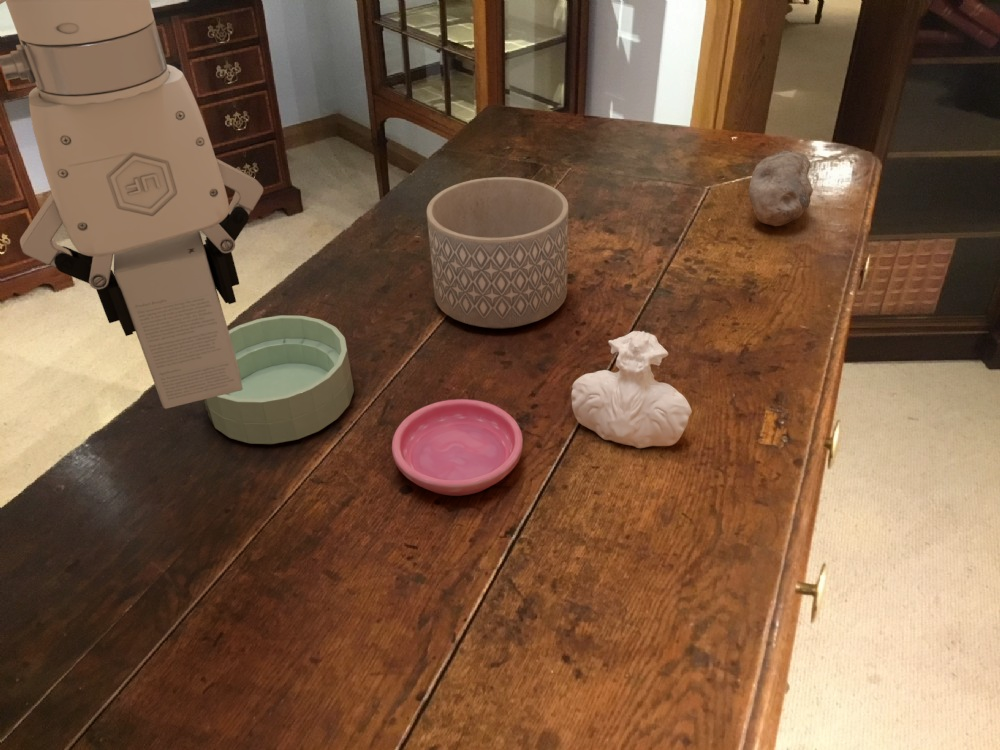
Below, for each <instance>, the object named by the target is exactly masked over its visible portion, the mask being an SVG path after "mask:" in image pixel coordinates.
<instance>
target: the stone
mask: <svg viewBox="0 0 1000 750" xmlns="http://www.w3.org/2000/svg"><path fill="white" fill-rule="evenodd" d="M810 168H811V161H810V159H809V158H808V156H807V155H806V154H805V153H802V152H799V151H791V150H781V151H779V152H776V153H774V154H772V155H769V156H766V157H765V158H762V159H761V161H759V163H757V164H756V166H755V168H754V170H753V171H752V174H751V178H750V180H749V187H748V192H747V193H748V198H749V201H750V205H751V207H752V211H753V213H754V215H755V218H756V219H757V220H758V221H759V222H760V223H762V224H765V225H769V226H773V227H781V226H784V225H787V224H789V223H790V222H792V221H795V220H798V219H799V218H800V217H801V216H802V215H803V213H805V211H806V210H807V209H808V207H809V206H810V204H811V197H812V195H813V192H814V189H813V186H812V184H811V182H810V180H809V177H808V175H809V171H810Z"/></svg>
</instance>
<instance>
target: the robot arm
mask: <svg viewBox="0 0 1000 750" xmlns="http://www.w3.org/2000/svg"><path fill="white" fill-rule="evenodd" d="M3 3H5V4H6V6H7V9H8V11H9V14H10V17H11V20H12V22H13V26H14V28H15V31H16V33H17V37H18V40H19V44H16V45H15V47H16V50H10V53H8V54H4V55H3V54H2V55H0V67H1V70H2V73H3V75H4V78H5V80H6V81H9V80H13V79H19V78H20V81H23V80H28V81H29V83H30V84H35V85H36V86H35V87H34V88H32V89H31V91H29V93H28V104H29V113H30V119H31V125H32V130H33V133H34V137H35V141H36V144H37V148H38V152H39V157H40V160H41V163H42V167H43V170H44V173H45V177H46V180H47V183H48V186H49V188H50V193H49V195H48V196H47V198H46V199H45V200H44V202H43V203H42V205H41V207H40V208H39V210H38V211H37V213H36V214H35V216H34V217H33V219H32V220H31V222H30V223H29V224H28V226H27V228H26V229H25V231H24V232H23V234H22V235H21V237H20V239H19V244H20V248H21V251H22V253H23V254H24V255H26V256H28V257H29V258H31V259H34V260H36V261H39V262H41V263H43V264H45V265H47V266H51V267H54V268H55V269H57V270H58V272H60V273H63V274H64V275H67V276H70V277H72V278H75V279H76V280H80V281H82V282H84V283H86V284H89V286H90V287H91V288H93V289H94V290H96V293H97V296H98V299H99V301H100V303H101V306H102V309H103V311H104V314H105V317H106V320H107V321H108V324H113V323H116V322H119V323H120V327H121V328H122V331H123V333H124V335H125V337H128V336H132V335H134V333H136V331H135V328H134V325H133V322H132V320H131V317H130V314H129V311H128V308H127V306H126V303H125V300H124V297H123V294H122V292H121V289H120V287H119V285H118V283H117V280H116V278H115V275H114V270H113V269H112V265H113V261H114V254H116V253H120V252H124V251H128V250H132V249H136V248H139V247H143V246H147V245H151V244H154V243H158V242H162V241H165V240H169V239H173V238H176V237H180V236H184V235H187V234H191V233H194V232H198V231H199V232H202V233H203V234H204V236H205V240H204V242H205V243H203V245H204V248H205V252H206V255H207V259H208V262H209V265H210V269H211V272H212V276H213V279H214V283H215V286H216V290H217V293H218V295H220V297H221V298H222V300H223V302H224V303H225V304H229V305H231V304H235V303H237V298H236V295H235V292H234V288H233V287H236V286H239V285H240V280H239V276H238V273H237V268H236V265H235V261H234V257H233V253H232V252H233V251H234V250H235V248H236V241H237V239H238V237H239V236H240V234H241V233H242V231H243V229H244V228H245V226H246V225H247V223H248V222H249V219H250V214H251V212H253V211H254V209H255V207H256V206H257V204H258V202H259V201H260V199H261V197H262V195H263V193H264V187H263V185H262V184H261V183H260V182H259V181H258V180H257V179H256V178H254V177H253V176H251V175H249V174H247V173H246V172H243V171H242V170H239V169H237V168H235V167H234V166H232V165H230V164H228V163H226V162H224V161H222V160H220V159H218V158H216V155H215V151H214V148H213V145H212V142H211V139H210V136H209V132H208V129H207V127H206V124H205V121H204V118H203V116H202V114H201V110H200V108H199V104H198V103H197V101H196V98H195V95H194V94H193V91H192V89H191V87H190V85H189V82H188V81H187V79H186V77H185V74H184V72H183V71H181V70H180V69H178V68H177V67H176V66H174V65H171V64H167V61H166V56H165V52H164V49H163V45H162V42H161V38H160V34H159V31H158V27H157V24H156V19H155V17H154V12H153V8H152V5H151V0H0V5H1V4H3ZM226 187H227V188H229V189H231V190H233V191H234V194H233V195H232V200H231V201H230V202H229V198H228V194H227V190H226ZM62 225H63V227H64V229H65V232H66V234H67V236H68V238H69V240H70V242H71V243H72V245H73V246H74V249H76V250H74V249H72V248H70V247H67V246H62V245H60V244H58V243H57V242H55V241H53V239H54V237H55V235H56V234H57V233H58V231H59V230H60V228H61V227H62Z"/></svg>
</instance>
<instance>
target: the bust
mask: <svg viewBox="0 0 1000 750" xmlns="http://www.w3.org/2000/svg"><path fill="white" fill-rule="evenodd" d="M607 344H608V345H609V347H611V349H610V354H612V355H613V354H615V353H618V354H617V357H616V361H615V367H617V368H618V371H616V372H613V371H611V370H608V369H602V370H598V371H594V372H589V373H585V374H583V375H581V376H580V377H578V378H577V379H576V380H575V381H574V382H573V383H572V386H571V387H572V390H571V393H570V395H571V396H570V398H571V408H572V412H573V415H574V417H575V419H576V421H577V422H578V423H579V424H580V425H582V426H583V427H585V428H587V429H589V430H591V431H592V432H594V433H596V434H597V435H598V436H599V437H600V438H601V439H602V440H605V441H611V442H614V443H618V444H622V445H625V446H632V447H634V448H637V449H644V448H649V447H670V446H673V445H675V444H676V443H678V441H679V440H680V438H681V437H682V435H683V434H684V431H685V430H686V428H687V426H688V424H689V419H690V416H691V415H692V412H693V411H692V407H691V405H690V403H689V401H688V399H687V398H686V397H685V396H684V395H683V394H682V393H681V392H680V391H678V390H677V389H676V388H675V387H674V386H672V385H671V384H669V383H667V382H663V381H662V382H661V381H657V380H656V379H655V375H654V373H653V372H652V368H651V365H655V366H657V367H659V366H661V363H662V360H663V359H664V358H666V357H668V356H669V352H668V351H667V349H665V347H664V346H663V345H661V343H659V341H658V338H657V336H656V335H654V334H652V333H650V332H645V330H642V331H640V330H633V331H631V332H629V333H627V334H626V335H624V336H619V337H617V338H615V339H610V340H608V342H607Z"/></svg>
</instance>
